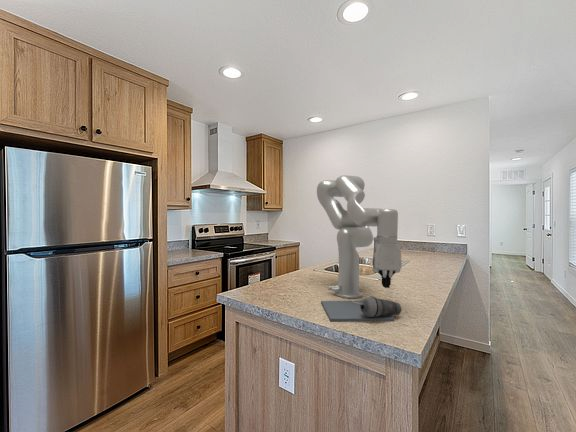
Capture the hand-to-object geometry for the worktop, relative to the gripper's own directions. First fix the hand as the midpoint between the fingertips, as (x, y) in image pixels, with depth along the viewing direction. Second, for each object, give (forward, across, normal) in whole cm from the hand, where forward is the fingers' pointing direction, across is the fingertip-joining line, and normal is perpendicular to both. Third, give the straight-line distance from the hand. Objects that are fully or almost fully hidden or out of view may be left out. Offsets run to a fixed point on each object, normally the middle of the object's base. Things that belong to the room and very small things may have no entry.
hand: (385, 286), depth 108 cm
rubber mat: (+10, -12, 0) cm, 16 cm away
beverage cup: (+7, +2, -5) cm, 9 cm away
